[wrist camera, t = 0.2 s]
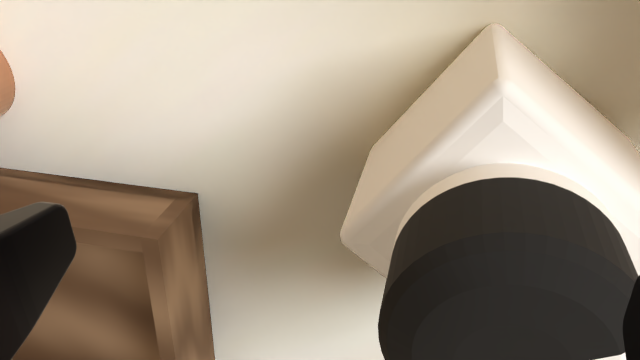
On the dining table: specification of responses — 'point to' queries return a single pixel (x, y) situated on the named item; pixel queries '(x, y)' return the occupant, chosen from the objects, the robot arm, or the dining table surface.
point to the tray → (120, 272)
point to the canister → (6, 85)
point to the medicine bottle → (500, 216)
